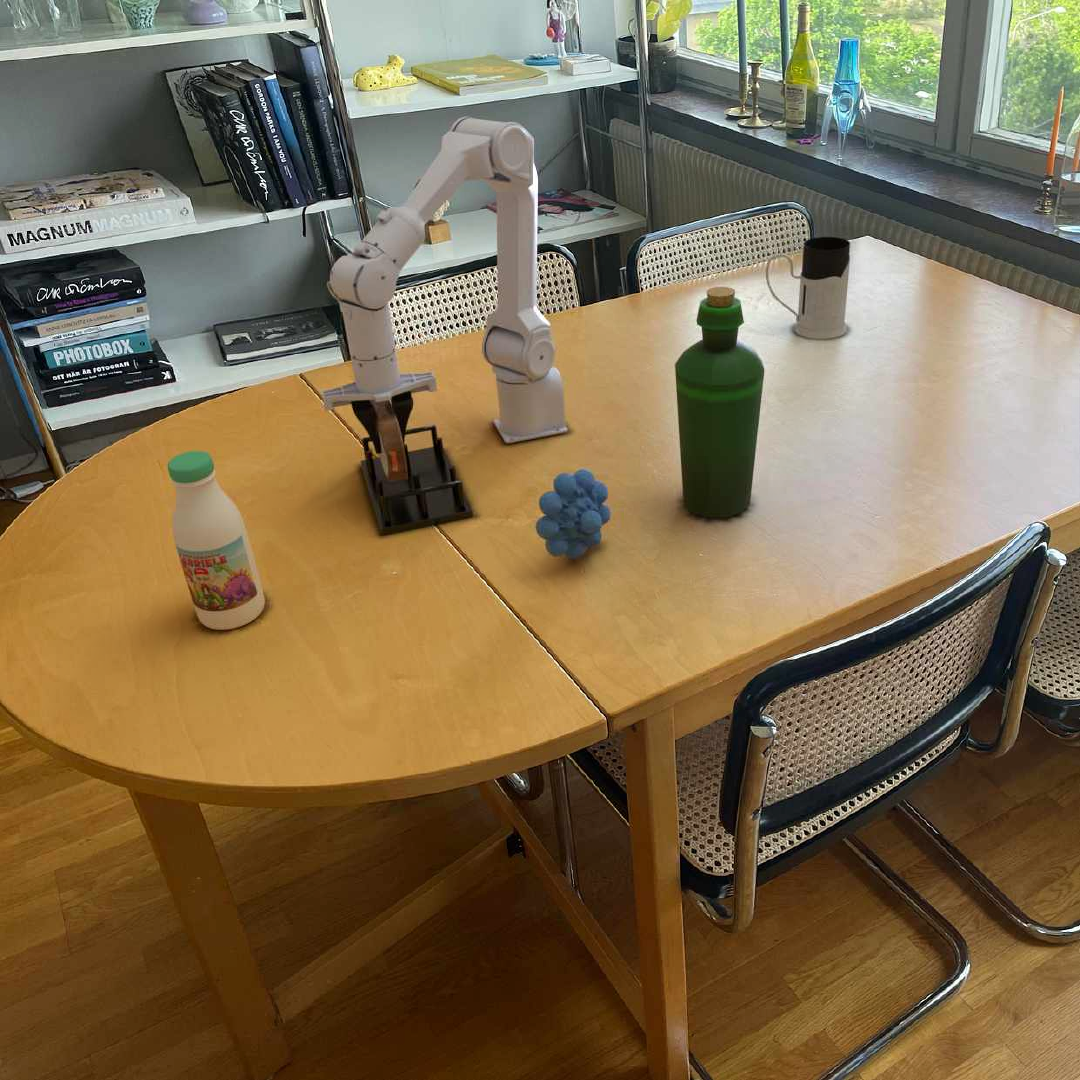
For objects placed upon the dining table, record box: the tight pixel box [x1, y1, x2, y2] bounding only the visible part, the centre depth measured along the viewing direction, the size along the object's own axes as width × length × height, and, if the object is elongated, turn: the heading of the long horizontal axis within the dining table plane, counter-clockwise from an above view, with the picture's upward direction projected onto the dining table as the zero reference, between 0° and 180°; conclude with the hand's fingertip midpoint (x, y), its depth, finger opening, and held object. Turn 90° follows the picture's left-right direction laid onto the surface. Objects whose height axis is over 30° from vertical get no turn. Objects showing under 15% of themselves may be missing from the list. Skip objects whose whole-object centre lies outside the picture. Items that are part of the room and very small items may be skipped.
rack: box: [360, 424, 474, 536], centre depth 140 cm, size 12×20×5 cm, turn 16°
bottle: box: [674, 286, 765, 518], centre depth 125 cm, size 11×11×28 cm
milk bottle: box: [167, 450, 266, 631], centre depth 115 cm, size 8×8×20 cm
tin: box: [370, 399, 408, 482], centre depth 136 cm, size 15×3×8 cm, turn 16°
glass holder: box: [765, 236, 851, 340], centre depth 175 cm, size 9×14×15 cm, turn 89°
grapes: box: [535, 468, 611, 560], centre depth 121 cm, size 12×7×12 cm, turn 135°
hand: (389, 448), depth 137 cm, fingers closed on tin, 2 cm apart
